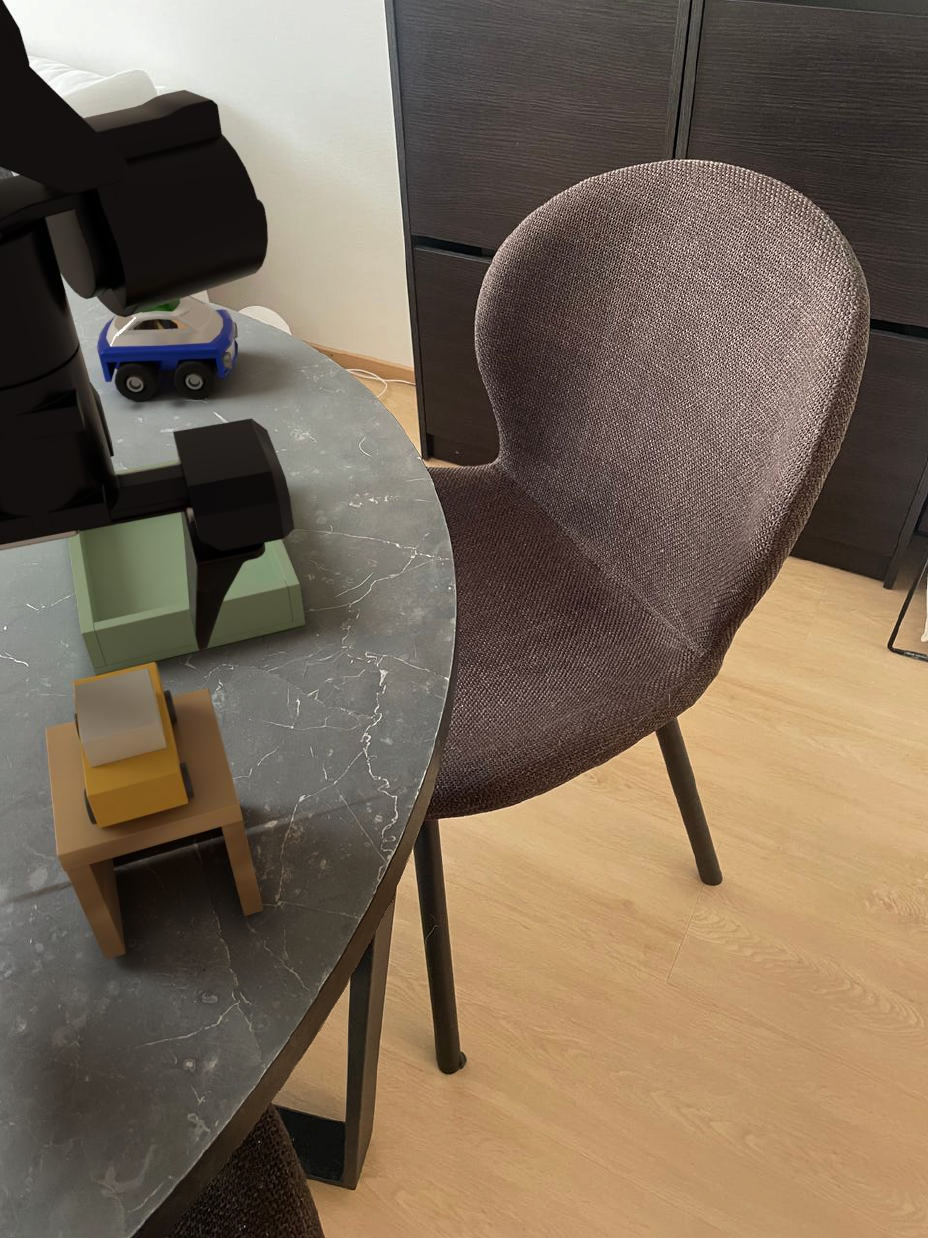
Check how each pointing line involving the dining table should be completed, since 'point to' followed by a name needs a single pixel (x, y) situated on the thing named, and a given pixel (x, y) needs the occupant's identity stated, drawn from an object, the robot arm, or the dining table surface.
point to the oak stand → (146, 818)
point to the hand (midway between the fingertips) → (100, 666)
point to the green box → (168, 593)
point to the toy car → (169, 348)
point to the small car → (129, 746)
